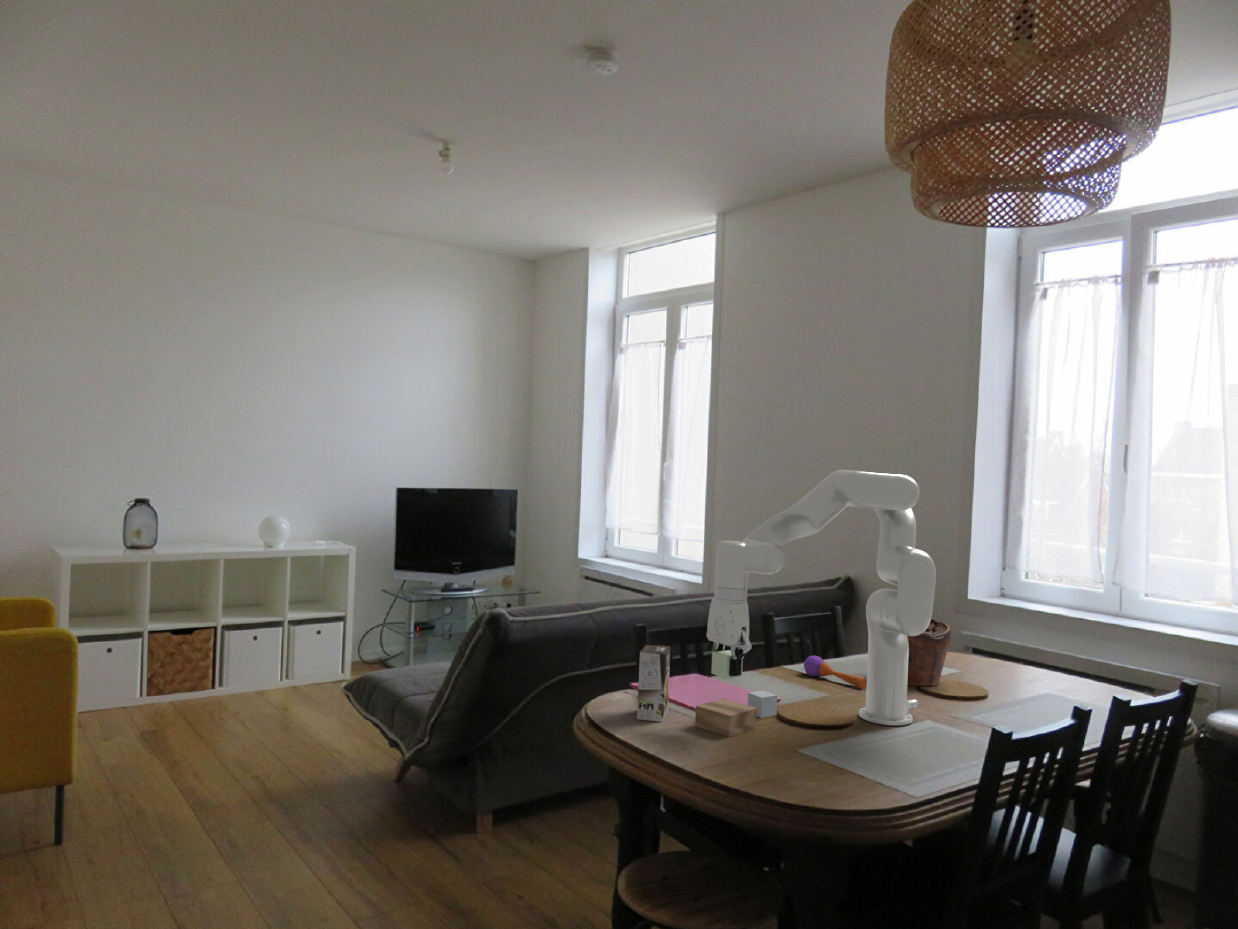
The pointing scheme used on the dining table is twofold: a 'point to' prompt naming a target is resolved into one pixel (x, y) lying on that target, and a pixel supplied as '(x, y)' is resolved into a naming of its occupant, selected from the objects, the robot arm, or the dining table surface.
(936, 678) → the brown plant pot
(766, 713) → the slate block
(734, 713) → the walnut base block
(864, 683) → the purple and orange maraca
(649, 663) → the coffee box
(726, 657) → the sage block
